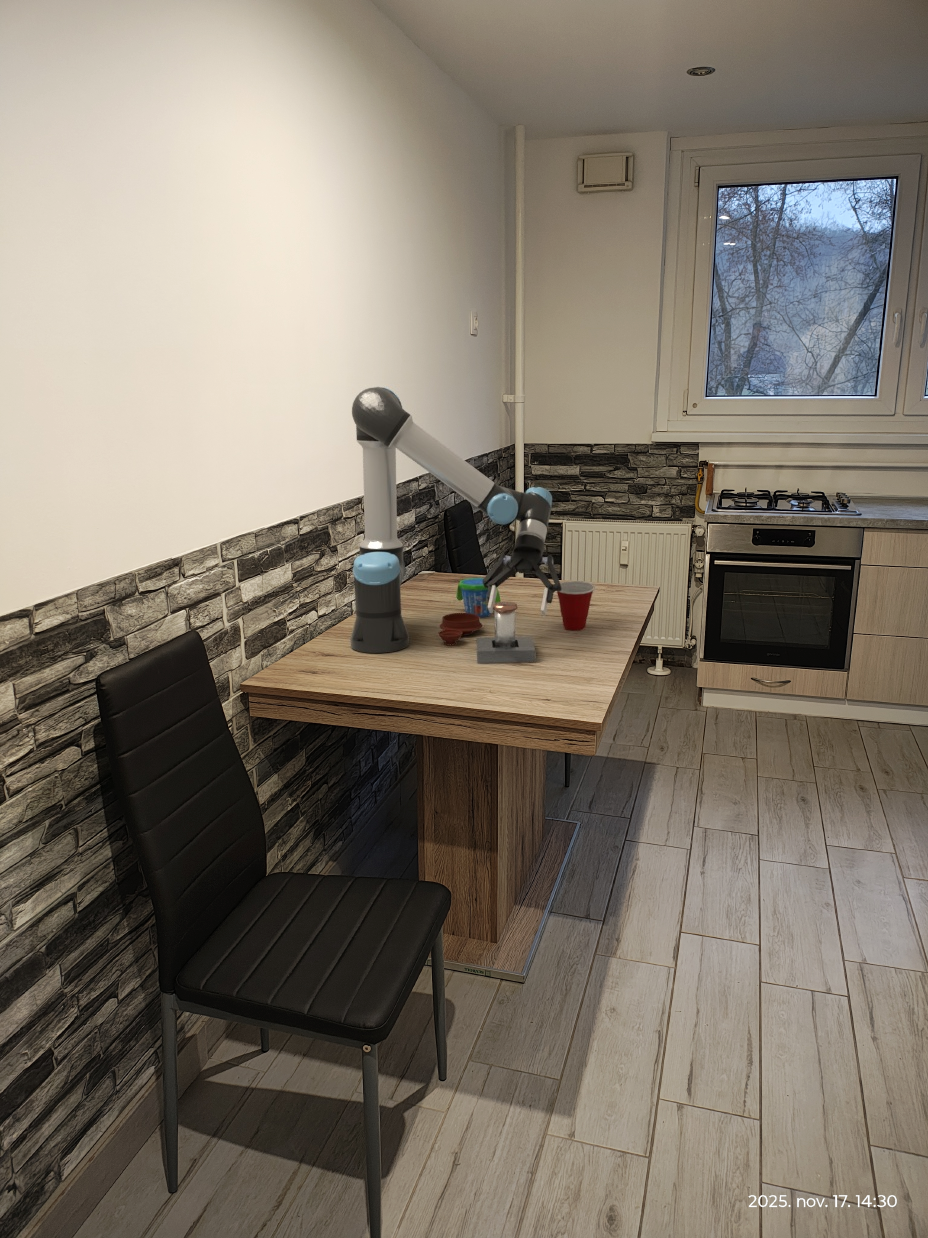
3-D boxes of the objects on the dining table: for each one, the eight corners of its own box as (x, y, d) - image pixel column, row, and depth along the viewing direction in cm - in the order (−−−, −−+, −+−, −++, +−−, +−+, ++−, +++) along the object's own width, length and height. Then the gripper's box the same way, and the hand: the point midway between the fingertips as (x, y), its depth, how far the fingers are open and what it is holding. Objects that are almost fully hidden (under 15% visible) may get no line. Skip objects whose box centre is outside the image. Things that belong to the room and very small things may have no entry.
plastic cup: (553, 633, 239) (554, 589, 236) (554, 622, 249) (555, 580, 246) (594, 633, 238) (595, 590, 234) (594, 623, 248) (594, 581, 245)
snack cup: (447, 613, 262) (446, 579, 259) (474, 607, 268) (474, 574, 265) (481, 623, 250) (481, 588, 247) (509, 617, 256) (509, 582, 254)
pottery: (487, 628, 246) (487, 612, 244) (469, 648, 227) (469, 632, 226) (446, 626, 249) (446, 611, 247) (425, 646, 230) (424, 629, 229)
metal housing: (477, 663, 214) (477, 651, 214) (476, 648, 226) (476, 637, 225) (535, 662, 214) (535, 650, 214) (531, 647, 226) (531, 636, 225)
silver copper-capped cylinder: (493, 659, 217) (492, 607, 214) (492, 652, 223) (492, 601, 220) (518, 658, 217) (517, 607, 214) (516, 651, 223) (516, 601, 220)
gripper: (579, 550, 231) (567, 621, 221) (487, 547, 238) (472, 616, 228) (575, 534, 224) (563, 606, 215) (481, 531, 232) (465, 601, 222)
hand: (516, 611), depth 222 cm, fingers open, 13 cm apart
